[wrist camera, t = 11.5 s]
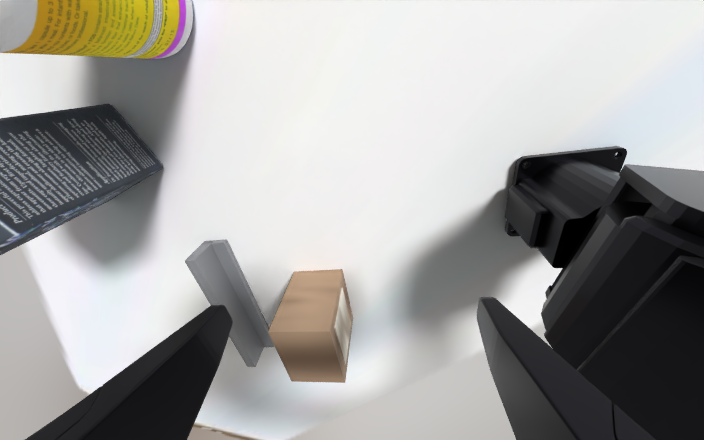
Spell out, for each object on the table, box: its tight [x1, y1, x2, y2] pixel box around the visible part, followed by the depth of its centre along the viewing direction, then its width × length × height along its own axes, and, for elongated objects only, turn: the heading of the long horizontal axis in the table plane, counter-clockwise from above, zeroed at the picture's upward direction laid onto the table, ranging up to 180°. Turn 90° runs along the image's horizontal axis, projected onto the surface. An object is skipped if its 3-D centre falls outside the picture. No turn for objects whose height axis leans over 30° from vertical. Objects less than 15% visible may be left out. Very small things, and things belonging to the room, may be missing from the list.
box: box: [0, 104, 163, 255], centre depth 17 cm, size 8×6×11 cm
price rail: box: [185, 240, 275, 367], centre depth 28 cm, size 16×3×3 cm, turn 8°
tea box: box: [268, 269, 353, 383], centre depth 25 cm, size 7×5×7 cm
